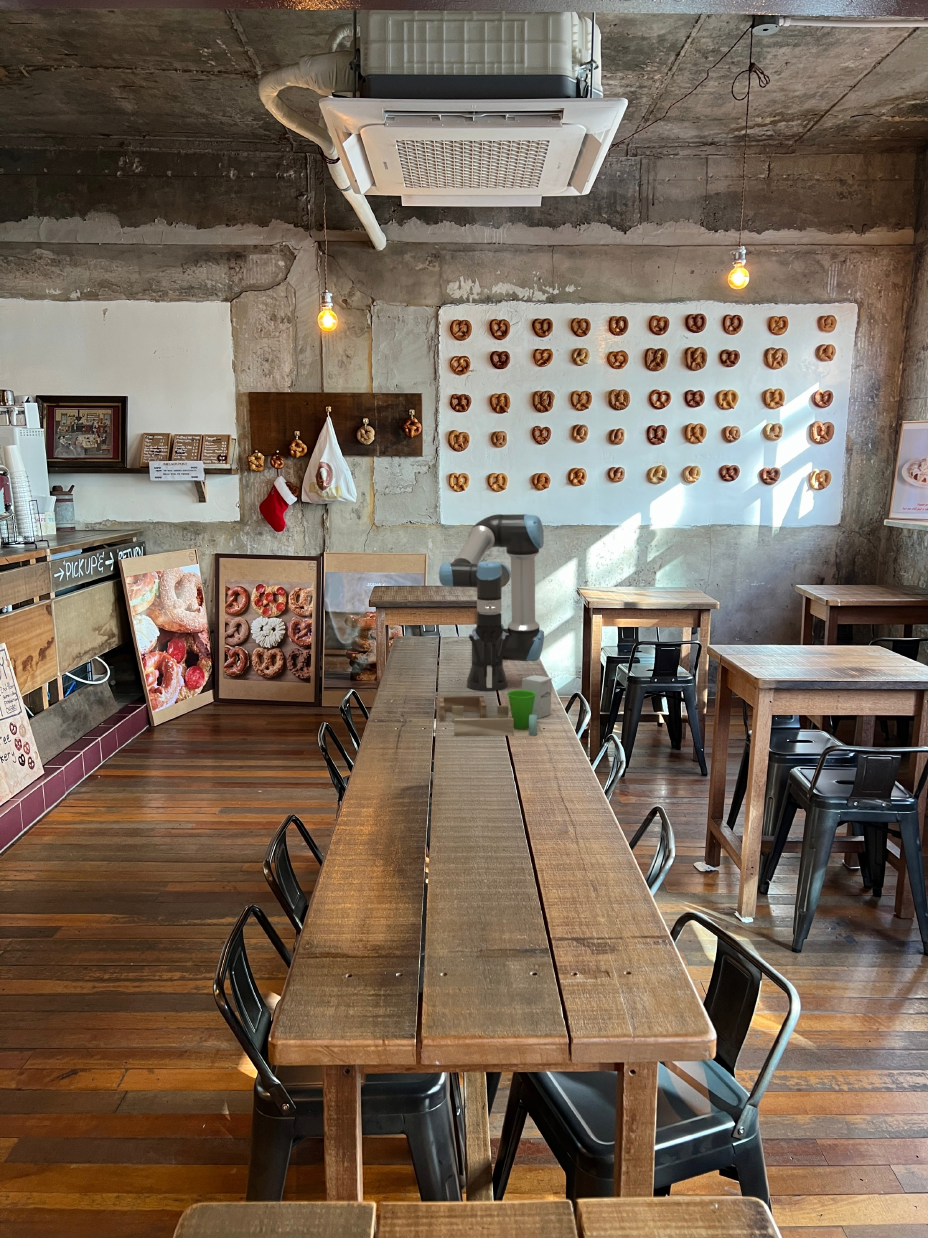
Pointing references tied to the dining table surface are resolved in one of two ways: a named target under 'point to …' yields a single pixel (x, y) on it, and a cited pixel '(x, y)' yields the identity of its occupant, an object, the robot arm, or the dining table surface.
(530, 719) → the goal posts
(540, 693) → the supplement box
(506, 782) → the dining table surface
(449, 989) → the dining table surface
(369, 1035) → the dining table surface
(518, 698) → the cup
